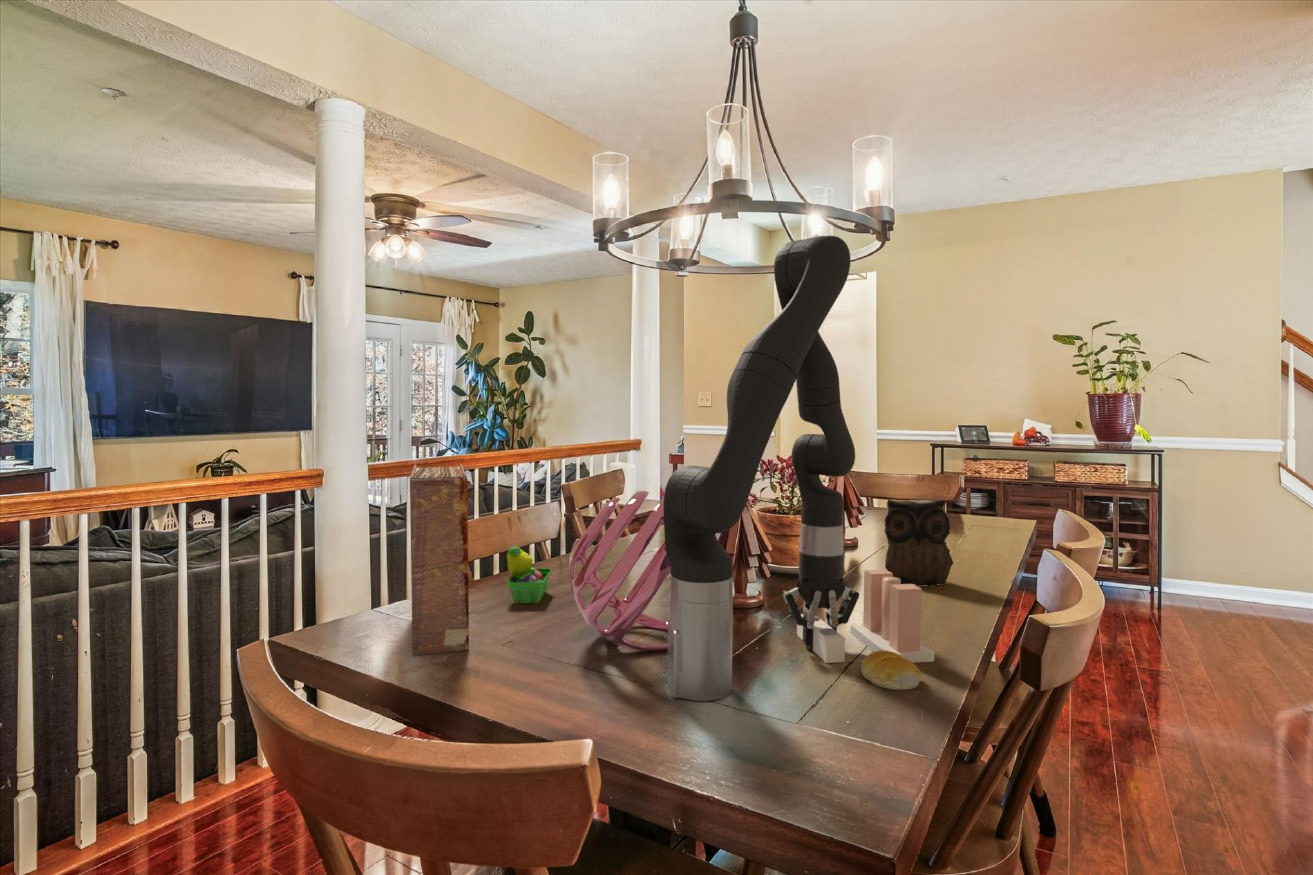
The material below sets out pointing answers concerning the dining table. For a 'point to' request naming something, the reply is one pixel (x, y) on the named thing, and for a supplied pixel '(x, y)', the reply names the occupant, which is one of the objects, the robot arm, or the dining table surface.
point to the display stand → (892, 617)
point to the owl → (918, 541)
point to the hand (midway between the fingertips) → (819, 646)
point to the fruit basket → (525, 577)
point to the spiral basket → (620, 572)
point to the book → (439, 559)
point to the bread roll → (890, 671)
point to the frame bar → (826, 641)
